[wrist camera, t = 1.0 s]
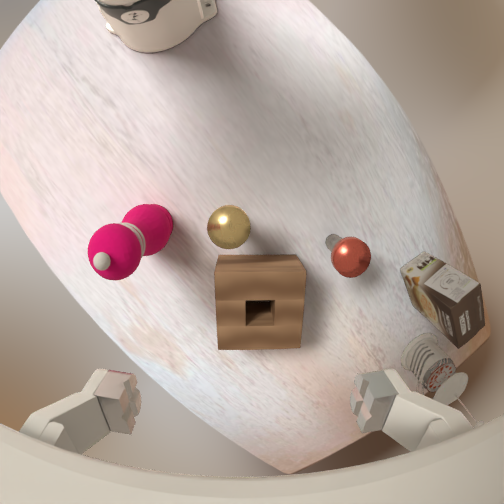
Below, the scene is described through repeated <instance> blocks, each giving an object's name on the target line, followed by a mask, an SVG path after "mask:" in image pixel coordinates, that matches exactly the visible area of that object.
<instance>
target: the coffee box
mask: <svg viewBox="0 0 504 504" xmlns="http://www.w3.org/2000/svg"><path fill="white" fill-rule="evenodd" d="M400 271H401V274H402V277H403V279H404V282H405V285H406V288H407V291H408V294H409V297H410V299H411V303H412V305H413V306H414V307H415V308H416V309H417V310H418V311H419V312H420V313H421V314H422V315H424V316H425V317H426V318H427V319H428V320H429V321H430V322H431V323H432V324H433V325H434V326H435V327H436V328H437V329H438V330H439V331H441V332H442V333H443V334H444V335H445V336H446V337H447V338H448V339H449V340H450V341H451V342H452V343H453V344H454V345H455V346H456V347H457V348H458V349H459V348H460V347H462V346H463V345H464V344H465V343H467V342H468V341H469V340H470V339H471V338H473V337H474V336H475V335H476V334H477V332H478V331H479V330H480V329H482V328H483V327H484V326H485V320H484V309H483V300H482V292H481V285H480V283H478V282H477V281H475V280H473V279H472V278H470V277H469V276H467V275H465V274H463V273H462V272H460V271H458V270H457V269H455V268H453V267H452V266H450V265H448V264H446V263H445V262H443V261H441V260H439V259H437V258H436V257H434V256H432V255H430V254H428V253H426V252H425V251H424V252H422V253H421V254H420V255H418V256H417V257H415V258H414V259H413V260H411V261H410V262H409V263H407V264H406V265H404V266H403V267H402V268H401V269H400Z"/></svg>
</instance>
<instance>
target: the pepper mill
mask: <svg viewBox="0 0 504 504" xmlns="http://www.w3.org/2000/svg"><path fill="white" fill-rule="evenodd" d="M172 230H173V220H172V217H171V215H170V213H169V212H168V211H167V210H166V209H165V208H164V207H162V206H160V205H156V204H151V205H149V204H143V205H138V206H136V207H134V208H133V209H131V210H130V211H129V212H128V213H127V214H126V215H125V217H124V218H123V221H122V223H119V224H115V223H113V224H108V225H105V226H103V227H101V228H100V229H98V230H97V231H96V232H95V233H94V235H93V236H92V238H91V239H90V242H89V245H88V257H89V261H90V264H91V266H92V267H93V269H94V270H95V271H96V272H97V273H98V274H99V275H100V276H102V277H103V278H105V279H109V280H121V279H124V278H126V277H128V276H130V275H131V274H132V273H133V272H134V271H135V270H136V268H137V267H138V265H139V263H140V260H141V258H142V256H149V255H153V254H155V253H157V252H158V251H160V250H161V249H162V248H164V247H165V245H166V244H167V242H168V240H169V237H170V235H171V233H172Z"/></svg>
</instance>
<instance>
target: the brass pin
mask: <svg viewBox="0 0 504 504" xmlns="http://www.w3.org/2000/svg"><path fill="white" fill-rule="evenodd" d="M207 231H208V235H209V237H210V239H211V240H212V242H213V243H214V244H216V245H217V246H219V247H221V248H224V249H234V248H237V247H239V246H241V245H242V244H243V243H245V241H246V240H247V239H248V237H249V234H250V221H249V218H248V216H247V214H246V213H245V212H244V211H243V210H242V209H241V208H239V207H237V206H234V205H225V206H222V207H219V208H218V209H216V210H215V211H214V212H213V213H212V215H211V217H210V218H209V221H208V225H207Z"/></svg>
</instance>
